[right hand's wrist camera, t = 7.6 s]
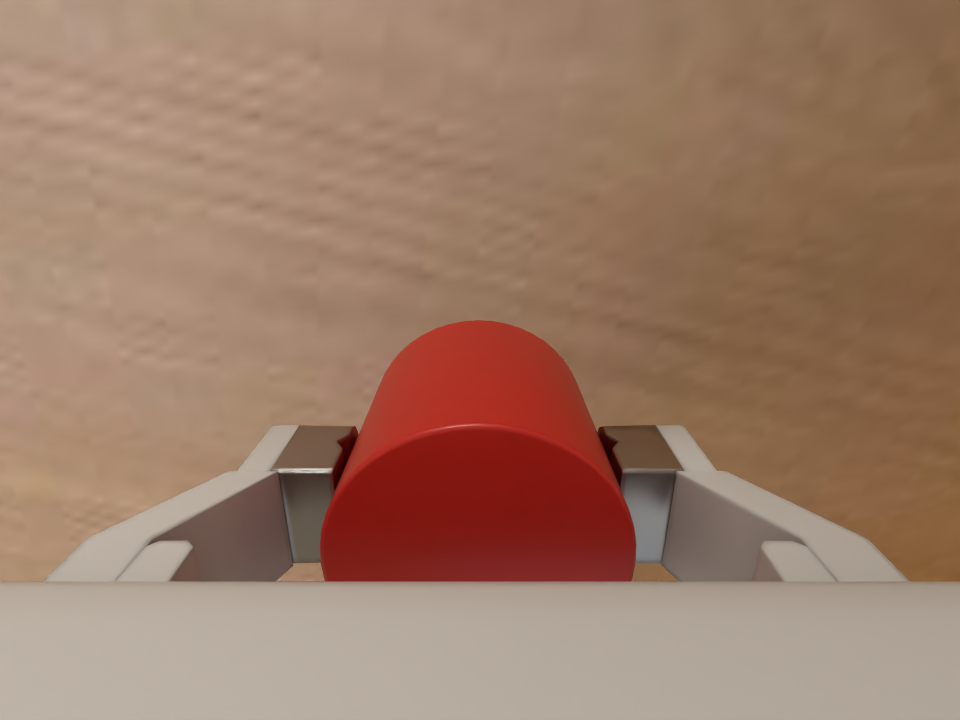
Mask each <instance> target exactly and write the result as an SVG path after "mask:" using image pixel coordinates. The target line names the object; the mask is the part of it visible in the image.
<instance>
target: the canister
mask: <svg viewBox="0 0 960 720" xmlns="http://www.w3.org/2000/svg"><path fill="white" fill-rule="evenodd" d="M320 557H321V566H322V570H323V574H324V579H325V581H631V580H632V576H633V571H634V566H635V561H636V536H635V528H634V524H633V520H632V517H631V514H630V511H629V508H628V506H627V503H626V501H625V498H624V496H623V493H622V491H621V489H620V486H619V484H618V481H617V479H616V477H615V474H614V472H613V469H612V467H611V465H610V462H609V460H608V457H607V455H606V452H605V450H604V448H603V445H602V443H601V440H600V438H599V436H598V433H597V431H596V428H595V426H594V423H593V421H592V419H591V416H590V414H589V411H588V409H587V407H586V404H585V402H584V399H583V397H582V394H581V392H580V390H579V387H578V385H577V382H576V380H575V378H574V376H573V374H572V372H571V370H570V369H569V367H568V366H567V364H566V363H565V361H564V360H563V359H562V358H561V357H560V355H559V354H558V353H557V352H556V351H555V350H554V349H553V348H552V347H550V346H549V345H548V344H547V343H546V342H544V341H543V340H541V339H540V338H538V337H537V336H535V335H533V334H532V333H529V332H527V331H525V330H523V329H521V328H518V327H515V326H512V325H508V324H505V323H499V322H493V321H478V320H477V321H463V322H458V323H453V324H448V325H445V326H442V327H439V328H437V329H434V330H432V331H430V332H428V333H426V334H424V335H422V336H420V337H419V338H417V339H416V340H414V341H413V342H411V343H410V344H409V345H408V346H407V347H406V348H405V349H403V350H402V351H401V352H400V353H399V354H398V356H397V357H396V358H395V359H394V360H393V361H392V363H391V364H390V366H389V368H388V369H387V371H386V372H385V374H384V377H383V379H382V381H381V383H380V386H379V388H378V390H377V393H376V395H375V397H374V400H373V402H372V405H371V407H370V409H369V412H368V414H367V416H366V419H365V421H364V424H363V426H362V428H361V431H360V433H359V435H358V438H357V440H356V443H355V445H354V447H353V450H352V452H351V454H350V457H349V459H348V461H347V464H346V466H345V469H344V471H343V473H342V476H341V478H340V480H339V483H338V485H337V488H336V490H335V492H334V495H333V497H332V499H331V502H330V504H329V507H328V509H327V511H326V514H325V518H324V521H323V525H322V529H321V538H320Z"/></svg>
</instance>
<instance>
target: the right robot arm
mask: <svg viewBox="0 0 960 720" xmlns="http://www.w3.org/2000/svg"><path fill="white" fill-rule="evenodd" d="M598 436H599V438H600V440H601V443H602V445H603V448H604V450H605V452H606V455H607V457H608V460H609V462H610V465H611V467H612V469H613V472H614V474H615V477H616V479H617V481H618V484H619V486H620V489H621V491H622V493H623V496H624V498H625V501H626V503H627V506H628V508H629V511H630V514H631V517H632V520H633V524H634V528H635V536H636V561H635V562H637V563H662V566H663V567H664V568H665V569H666V570H668V571H669V572H670V573H671V574H672V575H673V576H674V577H675V578H677V579H678V580H679V581H276V580H277V579H279V578H280V577H281V576H282V575H283V574H284V573H285V572H287V571H288V570H289V569H290V568H291V567H292V566H293V563H318V562H321V557H320V538H321V529H322V525H323V521H324V518H325V514H326V511H327V509H328V507H329V504H330V502H331V499H332V497H333V495H334V492H335V490H336V488H337V485H338V483H339V480H340V478H341V476H342V473H343V471H344V469H345V466H346V464H347V461H348V459H349V457H350V454H351V452H352V450H353V447H354V445H355V443H356V440H357V438H358V431H357V429H356V427H355V426H310V425H303V426H301V425H276V426H271V427H270V429H269V430H268V431H267V432H266V434H265V435H264V436H263V438H262V439H261V440H260V442H259V443H258V444H257V446H256V447H255V448H254V450H253V451H252V452H251V454H250V455H249V456H248V457H247V459H246V460H245V461H244V463H243V464H242V465H241V467H240V468H239V469H238V471H228V472H226V473H223V474H221V475H219V476H217V477H215V478H213V479H211V480H209V481H207V482H204V483H202V484H200V485H198V486H196V487H194V488H192V489H190V490H188V491H186V492H183V493H181V494H179V495H177V496H175V497H173V498H171V499H169V500H167V501H164V502H162V503H160V504H158V505H156V506H154V507H152V508H150V509H148V510H145V511H143V512H141V513H139V514H137V515H135V516H133V517H131V518H129V519H126V520H124V521H122V522H120V523H118V524H116V525H114V526H112V527H110V528H107V529H105V530H103V531H101V532H99V533H97V534H95V535H93V536H91V537H88V538H86V539H85V540H84V541H83V542H82V543H81V544H80V545H79V546H78V547H77V548H76V549H75V550H74V551H73V552H72V553H71V554H70V555H69V556H68V557H67V558H66V559H65V560H64V561H63V562H62V563H61V564H60V565H59V566H58V567H57V568H56V569H55V570H54V571H53V572H52V573H51V574H50V575H49V576H48V577H47V578H46V579H45V580H44V581H0V720H960V581H909V580H908V579H907V578H906V577H905V576H904V575H903V574H902V573H901V572H900V571H899V570H898V569H897V568H896V567H895V566H894V565H893V564H892V563H891V562H890V561H889V560H888V559H887V558H886V557H885V556H884V555H883V554H882V553H881V552H880V551H879V550H878V549H877V548H876V547H875V546H874V545H873V544H872V543H871V542H870V541H869V540H868V539H866V538H864V537H862V536H860V535H858V534H856V533H854V532H852V531H850V530H848V529H846V528H843V527H841V526H839V525H837V524H835V523H833V522H831V521H829V520H827V519H825V518H823V517H821V516H819V515H816V514H814V513H812V512H810V511H808V510H806V509H804V508H802V507H800V506H798V505H796V504H794V503H791V502H789V501H787V500H785V499H783V498H781V497H779V496H777V495H775V494H773V493H771V492H769V491H766V490H764V489H762V488H760V487H758V486H756V485H754V484H752V483H750V482H748V481H746V480H744V479H741V478H739V477H737V476H735V475H733V474H731V473H729V472H727V471H717V470H716V469H715V467H714V466H713V465H712V463H711V462H710V460H709V459H708V458H707V456H706V455H705V454H704V452H703V451H702V450H701V448H700V447H699V446H698V444H697V443H696V442H695V440H694V439H693V438H692V436H691V435H690V434H689V432H688V431H687V430H686V428H685V427H684V426H681V425H660V426H655V425H642V426H602V427H599V430H598Z"/></svg>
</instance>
